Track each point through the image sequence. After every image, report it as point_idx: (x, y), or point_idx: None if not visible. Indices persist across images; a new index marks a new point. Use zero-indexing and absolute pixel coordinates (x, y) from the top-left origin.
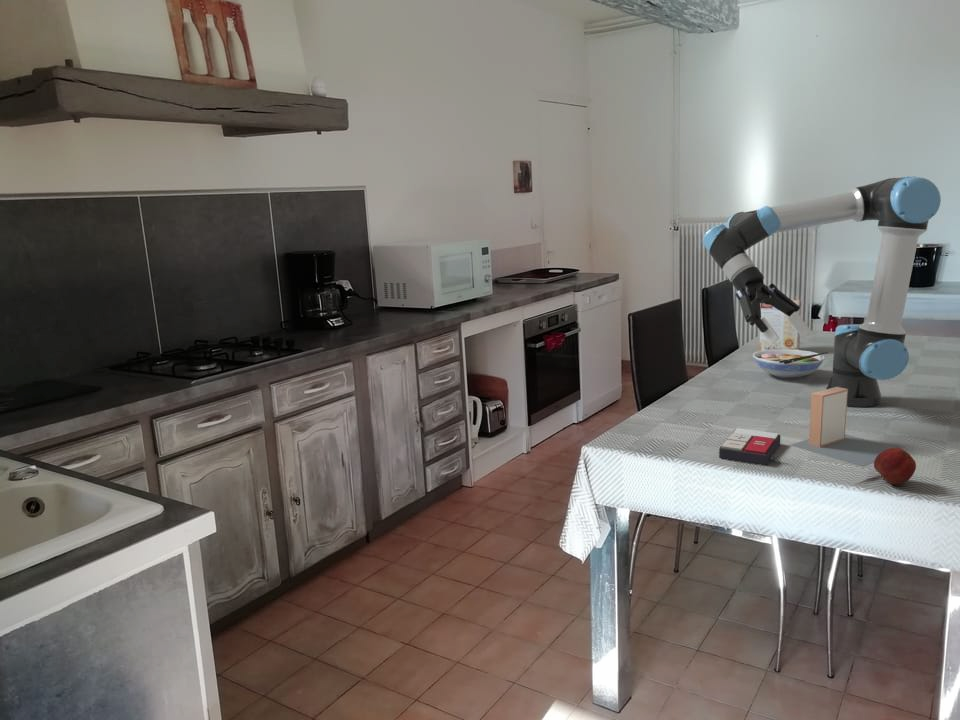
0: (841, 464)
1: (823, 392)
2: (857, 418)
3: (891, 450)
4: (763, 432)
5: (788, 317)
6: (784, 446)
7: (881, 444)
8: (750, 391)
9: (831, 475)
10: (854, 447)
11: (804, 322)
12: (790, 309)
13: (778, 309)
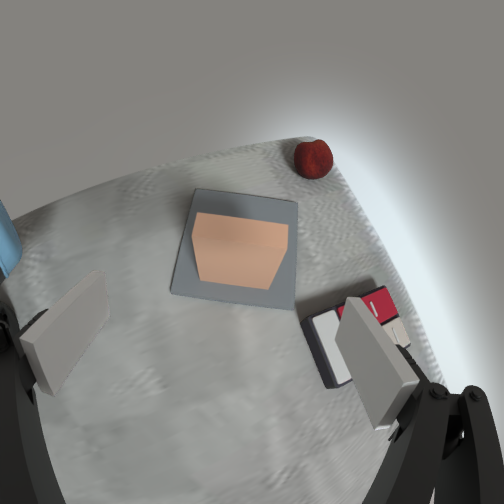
0: (299, 228)
1: (262, 234)
2: None
3: (326, 147)
4: (325, 339)
5: (51, 391)
6: (291, 320)
7: (191, 217)
8: None
9: (341, 221)
10: None
11: (67, 293)
12: (18, 376)
13: (49, 461)
